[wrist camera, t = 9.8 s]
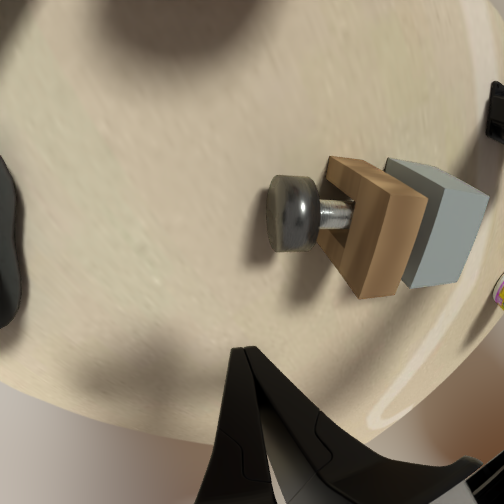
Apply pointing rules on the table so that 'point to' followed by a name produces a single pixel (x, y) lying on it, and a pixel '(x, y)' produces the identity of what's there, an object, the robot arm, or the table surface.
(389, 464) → the robot arm
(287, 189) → the shaft
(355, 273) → the block
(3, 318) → the casserole
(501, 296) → the supplement bottle
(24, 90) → the table surface
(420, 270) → the block
